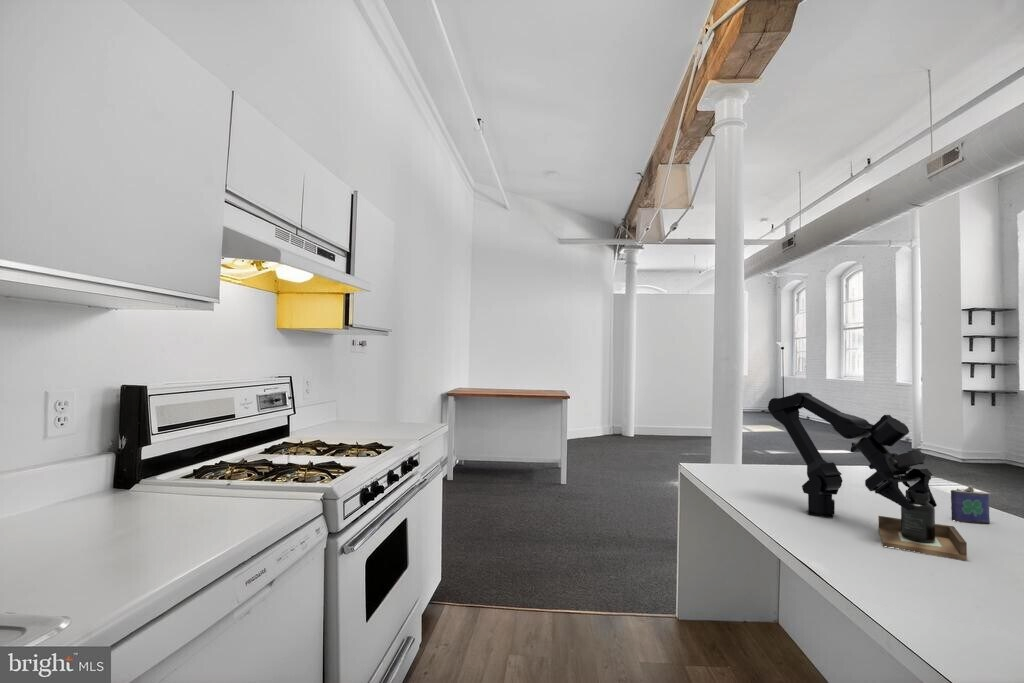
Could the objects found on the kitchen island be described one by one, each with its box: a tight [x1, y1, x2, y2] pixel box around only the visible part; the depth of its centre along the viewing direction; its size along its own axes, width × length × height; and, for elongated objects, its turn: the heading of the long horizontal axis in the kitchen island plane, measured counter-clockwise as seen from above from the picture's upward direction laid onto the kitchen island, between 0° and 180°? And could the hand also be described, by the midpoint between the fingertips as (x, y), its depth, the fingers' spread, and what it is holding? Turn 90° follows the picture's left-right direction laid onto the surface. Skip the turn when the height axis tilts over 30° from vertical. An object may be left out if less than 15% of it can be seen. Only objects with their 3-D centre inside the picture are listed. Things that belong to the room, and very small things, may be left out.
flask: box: [950, 485, 991, 525], centre depth 153 cm, size 9×3×11 cm, turn 74°
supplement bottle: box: [900, 489, 936, 543], centre depth 132 cm, size 7×7×12 cm
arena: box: [878, 515, 968, 561], centre depth 132 cm, size 16×15×4 cm
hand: (923, 508), depth 131 cm, fingers open, 9 cm apart
